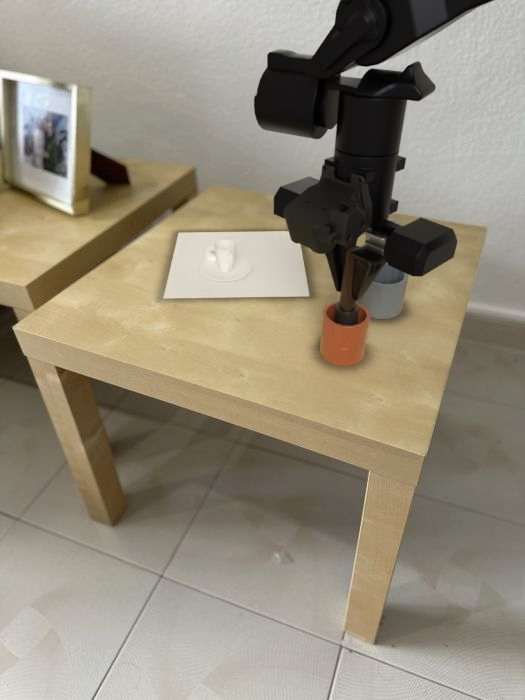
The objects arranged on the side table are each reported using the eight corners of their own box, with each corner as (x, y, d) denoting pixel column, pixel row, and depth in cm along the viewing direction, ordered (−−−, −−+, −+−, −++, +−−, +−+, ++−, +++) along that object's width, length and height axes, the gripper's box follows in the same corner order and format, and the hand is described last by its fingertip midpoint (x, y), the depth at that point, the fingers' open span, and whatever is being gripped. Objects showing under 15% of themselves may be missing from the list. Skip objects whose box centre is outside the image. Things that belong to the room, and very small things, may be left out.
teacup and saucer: (201, 254, 79) (198, 230, 77) (252, 253, 79) (251, 229, 77) (196, 284, 72) (194, 258, 70) (252, 283, 72) (252, 257, 70)
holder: (373, 352, 60) (379, 314, 57) (344, 372, 58) (349, 333, 54) (339, 333, 63) (343, 295, 60) (310, 351, 61) (313, 312, 57)
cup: (410, 306, 68) (417, 274, 65) (383, 324, 65) (389, 291, 62) (374, 289, 71) (379, 257, 68) (346, 305, 68) (350, 272, 65)
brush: (359, 335, 59) (372, 249, 52) (345, 344, 58) (356, 257, 51) (342, 325, 60) (352, 240, 53) (327, 334, 59) (336, 248, 52)
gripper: (230, 142, 47) (236, 287, 57) (399, 202, 36) (370, 369, 46) (314, 119, 53) (306, 255, 62) (480, 165, 42) (439, 320, 52)
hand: (348, 294), depth 55 cm, fingers closed
